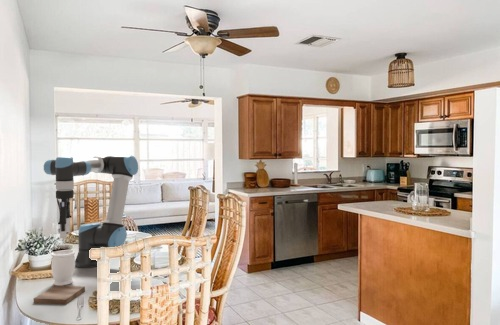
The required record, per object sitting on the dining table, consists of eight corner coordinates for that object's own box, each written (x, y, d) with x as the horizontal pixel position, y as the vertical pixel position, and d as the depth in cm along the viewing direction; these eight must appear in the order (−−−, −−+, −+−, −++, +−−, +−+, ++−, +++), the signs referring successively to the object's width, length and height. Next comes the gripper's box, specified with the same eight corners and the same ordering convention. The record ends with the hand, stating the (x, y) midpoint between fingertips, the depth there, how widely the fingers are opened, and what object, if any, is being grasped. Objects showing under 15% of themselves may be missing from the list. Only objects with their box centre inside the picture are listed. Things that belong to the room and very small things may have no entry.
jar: (58, 279, 189) (59, 249, 189) (79, 279, 188) (79, 249, 188) (46, 286, 178) (46, 254, 178) (68, 287, 178) (68, 255, 178)
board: (55, 289, 174) (55, 285, 174) (84, 290, 173) (84, 286, 173) (33, 302, 158) (33, 298, 158) (65, 304, 157) (65, 299, 157)
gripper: (59, 187, 187) (60, 229, 188) (51, 193, 163) (52, 241, 164) (76, 186, 189) (76, 228, 190) (70, 192, 166) (71, 240, 167)
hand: (65, 234), depth 177 cm, fingers open, 13 cm apart
